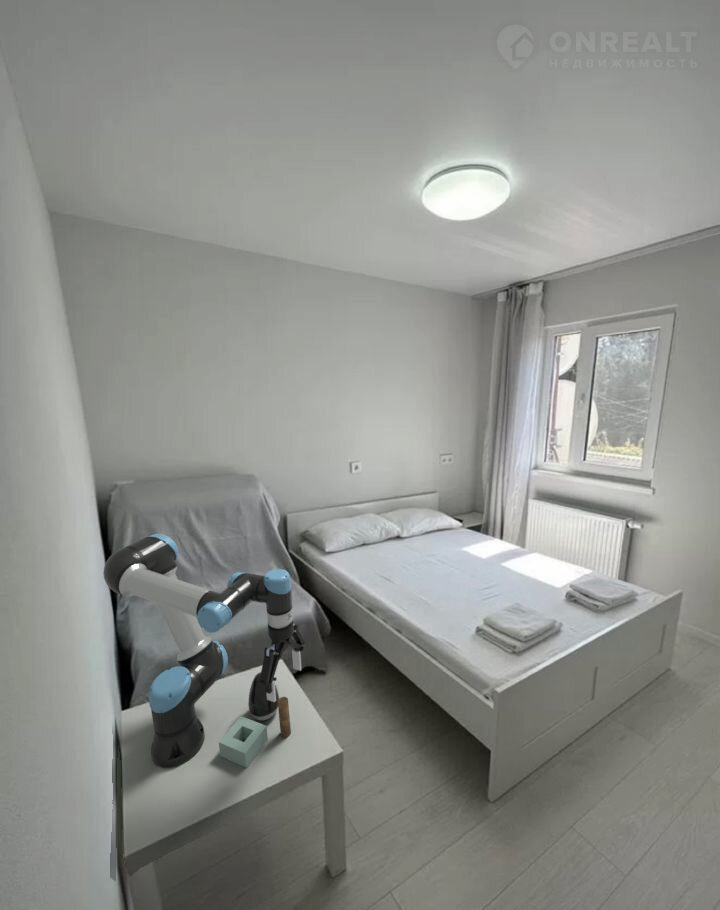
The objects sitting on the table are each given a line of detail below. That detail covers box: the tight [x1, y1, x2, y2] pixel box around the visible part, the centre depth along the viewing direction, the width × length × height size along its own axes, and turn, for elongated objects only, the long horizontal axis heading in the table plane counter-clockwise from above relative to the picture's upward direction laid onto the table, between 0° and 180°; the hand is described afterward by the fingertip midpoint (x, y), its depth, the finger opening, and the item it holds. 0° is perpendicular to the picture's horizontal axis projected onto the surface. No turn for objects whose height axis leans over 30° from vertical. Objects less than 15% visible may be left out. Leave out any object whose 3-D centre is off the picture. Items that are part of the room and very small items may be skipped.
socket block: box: [218, 716, 269, 769], centre depth 122 cm, size 10×10×5 cm
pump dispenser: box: [247, 671, 280, 721], centre depth 133 cm, size 10×10×15 cm
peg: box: [277, 696, 292, 739], centre depth 125 cm, size 3×3×12 cm
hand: (285, 683), depth 122 cm, fingers open, 13 cm apart
